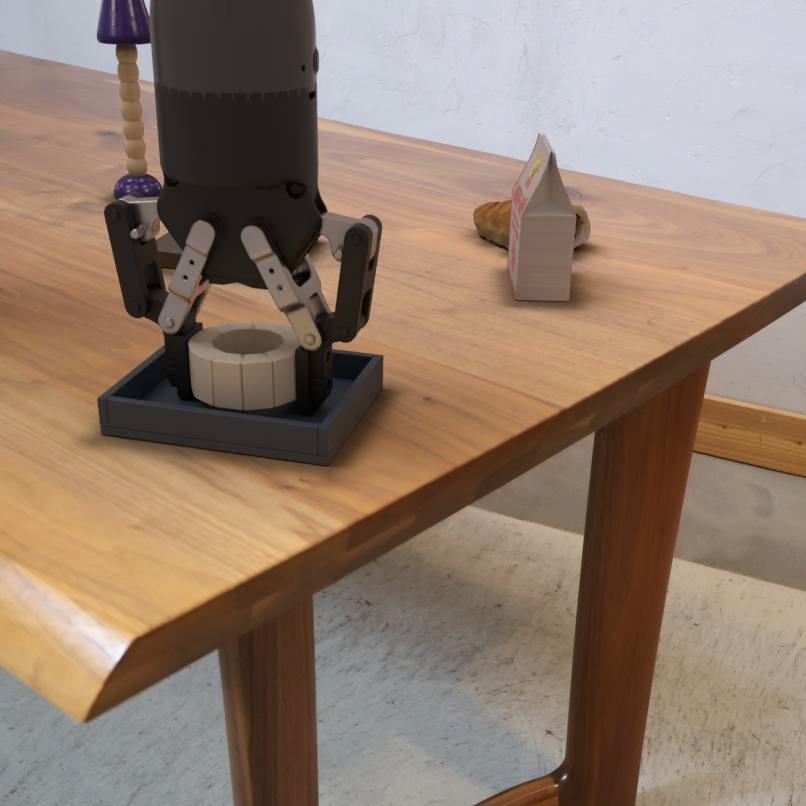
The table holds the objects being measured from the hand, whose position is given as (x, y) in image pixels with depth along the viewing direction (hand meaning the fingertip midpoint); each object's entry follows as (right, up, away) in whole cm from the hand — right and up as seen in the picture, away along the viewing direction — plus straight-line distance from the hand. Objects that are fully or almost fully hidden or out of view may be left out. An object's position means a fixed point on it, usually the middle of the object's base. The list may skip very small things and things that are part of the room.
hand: (251, 400), depth 61 cm
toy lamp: (-16, +19, +39) cm, 47 cm away
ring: (0, +1, 0) cm, 1 cm away
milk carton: (+17, +9, +21) cm, 28 cm away
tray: (0, -1, 0) cm, 1 cm away
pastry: (+17, +14, +30) cm, 37 cm away
